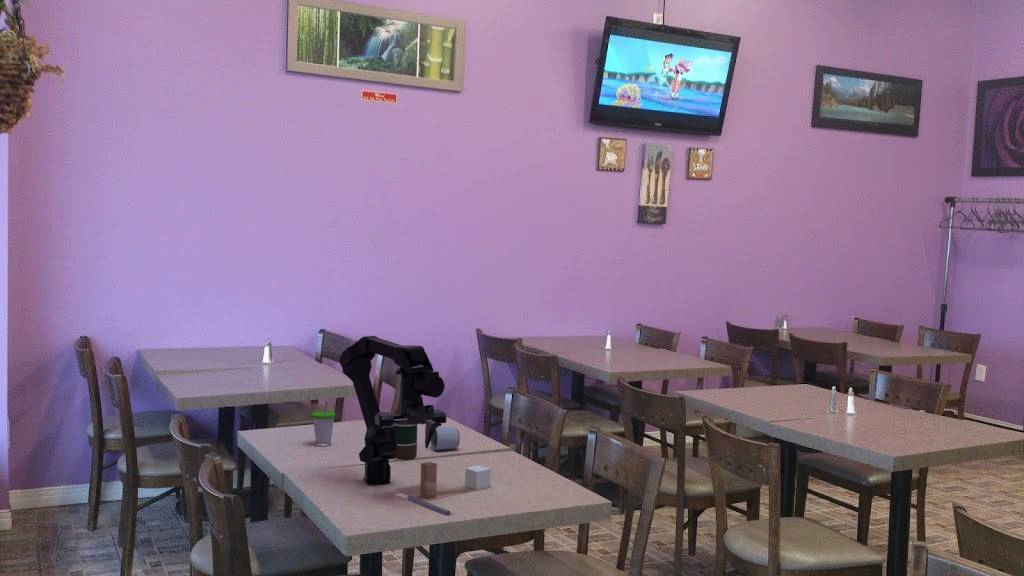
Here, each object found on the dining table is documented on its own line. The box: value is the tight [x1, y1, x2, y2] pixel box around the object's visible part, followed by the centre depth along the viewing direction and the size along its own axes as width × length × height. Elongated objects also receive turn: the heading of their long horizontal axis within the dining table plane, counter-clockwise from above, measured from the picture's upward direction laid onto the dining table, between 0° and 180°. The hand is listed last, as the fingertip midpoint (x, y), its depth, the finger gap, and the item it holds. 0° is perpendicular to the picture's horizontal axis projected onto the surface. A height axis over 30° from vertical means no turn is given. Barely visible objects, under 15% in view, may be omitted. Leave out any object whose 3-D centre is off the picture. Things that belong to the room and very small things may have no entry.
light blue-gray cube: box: [464, 464, 492, 491], centre depth 264 cm, size 5×5×5 cm
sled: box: [415, 461, 493, 502], centre depth 259 cm, size 6×22×10 cm, turn 132°
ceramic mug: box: [430, 426, 461, 452], centre depth 312 cm, size 11×8×8 cm
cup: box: [311, 401, 337, 445], centre depth 313 cm, size 8×8×15 cm
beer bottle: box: [393, 381, 418, 461], centre depth 299 cm, size 8×8×24 cm
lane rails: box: [406, 495, 451, 516], centre depth 256 cm, size 17×25×1 cm
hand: (410, 449), depth 260 cm, fingers open, 9 cm apart
